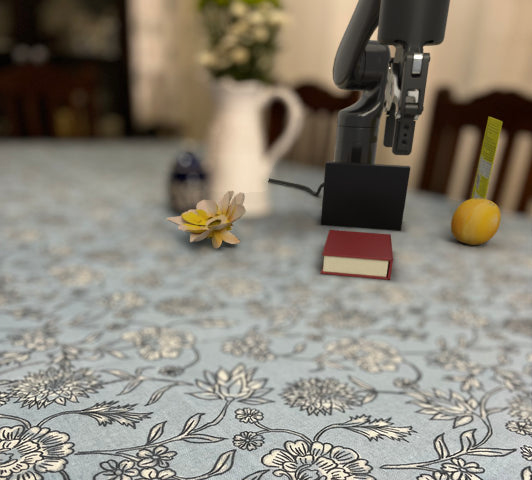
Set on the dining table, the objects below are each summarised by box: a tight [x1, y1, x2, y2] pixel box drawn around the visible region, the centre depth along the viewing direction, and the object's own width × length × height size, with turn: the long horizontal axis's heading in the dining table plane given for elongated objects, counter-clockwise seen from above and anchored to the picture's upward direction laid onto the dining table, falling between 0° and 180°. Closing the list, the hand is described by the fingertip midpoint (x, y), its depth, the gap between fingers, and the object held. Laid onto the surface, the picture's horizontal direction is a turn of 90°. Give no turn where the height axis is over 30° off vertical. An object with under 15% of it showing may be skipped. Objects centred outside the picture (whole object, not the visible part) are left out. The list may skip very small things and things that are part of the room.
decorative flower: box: [165, 190, 247, 250], centre depth 91 cm, size 15×11×10 cm
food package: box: [470, 116, 504, 199], centre depth 109 cm, size 15×1×20 cm, turn 168°
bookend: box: [320, 160, 411, 232], centre depth 104 cm, size 7×16×12 cm, turn 80°
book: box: [320, 229, 394, 281], centre depth 84 cm, size 14×10×3 cm
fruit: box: [450, 198, 502, 246], centre depth 95 cm, size 9×8×8 cm
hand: (395, 150), depth 65 cm, fingers open, 8 cm apart
